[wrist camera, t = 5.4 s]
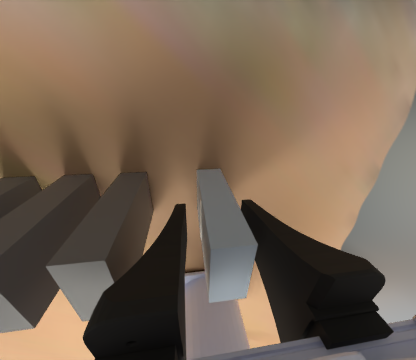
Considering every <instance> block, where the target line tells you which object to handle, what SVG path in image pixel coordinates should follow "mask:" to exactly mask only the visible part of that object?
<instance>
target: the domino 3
mask: <svg viewBox="0 0 416 360" xmlns="http://www.w3.org/2000/svg"><path fill="white" fill-rule="evenodd" d="M197 210H198V218H199V227H200V239H201V243H202V251H203V259H204V268H205V276H206V284H207V292H208V300H209V303H213V302H220V301H227V300H234V299H242V298H246V296H247V292H248V287H249V282H250V278H251V273H252V269H253V264H254V260H255V255H256V251H257V246H258V244H257V242H256V240H255V238H254V236H253V234H252V232H251V230H250V228H249V226H248V224H247V222H246V220H245V218H244V216H243V214H242V212H241V210H240V208H239V206H238V204H237V202H236V199H235V197H234V195H233V193H232V191H231V189H230V187H229V185H228V183H227V181H226V179H225V177H224V175H223V173H222V171H221V169H202V170H197Z"/></svg>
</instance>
